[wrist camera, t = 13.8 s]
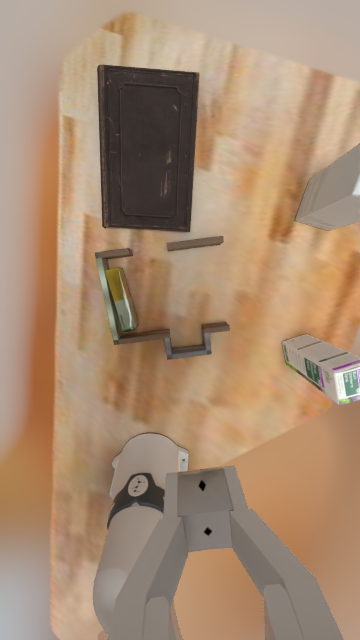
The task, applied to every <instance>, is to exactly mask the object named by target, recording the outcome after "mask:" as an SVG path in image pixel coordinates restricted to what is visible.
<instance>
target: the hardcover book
mask: <svg viewBox="0 0 360 640" xmlns="http://www.w3.org/2000/svg"><path fill="white" fill-rule="evenodd" d="M97 72H98V103H99V134H100V165H101V195H102V226H103V227H104V228H106V227H119V228H136V229H152V230H169V231H186V232H190V223H191V206H192V189H193V172H194V156H195V139H196V122H197V105H198V88H199V73H196V72H184V71H172V70H159V69H147V68H135V67H123V66H111V65H99V66H98V68H97Z"/></svg>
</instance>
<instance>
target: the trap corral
mask: <svg viewBox="0 0 360 640" xmlns="http://www.w3.org/2000/svg"><path fill="white" fill-rule="evenodd" d="M223 242H224V241H223V236H219V237H211V238H203V239H196V240H188V241H180V242H173V243H167V247H168V251H174V250H181V249H189V248H197V247H205V246H212V245H220V244H221V243H223ZM95 256H96V261H97V266H98V271H99V275H100V280H101V285H102V289H103V294H104V299H105V304H106V308H107V313H108V318H109V322H110V327H111V332H112V337H113V341H114V345H117V344H125V343H133V342H141V341H149V340H157V339H164V340H165V347H166V353H167V360H168V359H177V358H185V357H193V356H201V355H209V354H211V343H210V333H214V332H222V331H230V327H229V325H228V324H227V323H226V322H222V323H214V324H206V325H202V329H203V339H204V345H200V346H192V347H184V348H176V349H172V345H171V338H170V331H169V329H166V330H158V331H150V332H142V333H134V334H126V335H122V330H121V325H120V320H119V316H118V312H117V309H116V306H115V302H114V299H113V296H112V292H111V289H110V286H109V282H108V279H107V276H106V272H105V271H106V270H109V265H108V260H107V259H112V258H120V257H127V256H133V255H132V250H130V249H128V248H127V249H119V250H111V251H104V252H96V253H95Z"/></svg>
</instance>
